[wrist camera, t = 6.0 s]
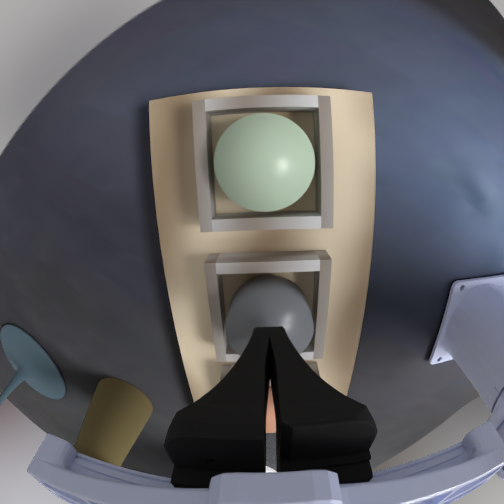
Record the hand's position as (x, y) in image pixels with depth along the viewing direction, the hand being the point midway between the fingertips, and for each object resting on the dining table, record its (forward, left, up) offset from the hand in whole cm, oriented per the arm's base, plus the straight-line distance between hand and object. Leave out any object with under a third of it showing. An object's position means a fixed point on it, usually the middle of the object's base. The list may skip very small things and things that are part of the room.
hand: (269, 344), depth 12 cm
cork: (+14, +12, -6) cm, 19 cm away
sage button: (0, -8, -4) cm, 9 cm away
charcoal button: (0, 0, -3) cm, 3 cm away
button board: (0, 0, -5) cm, 5 cm away
